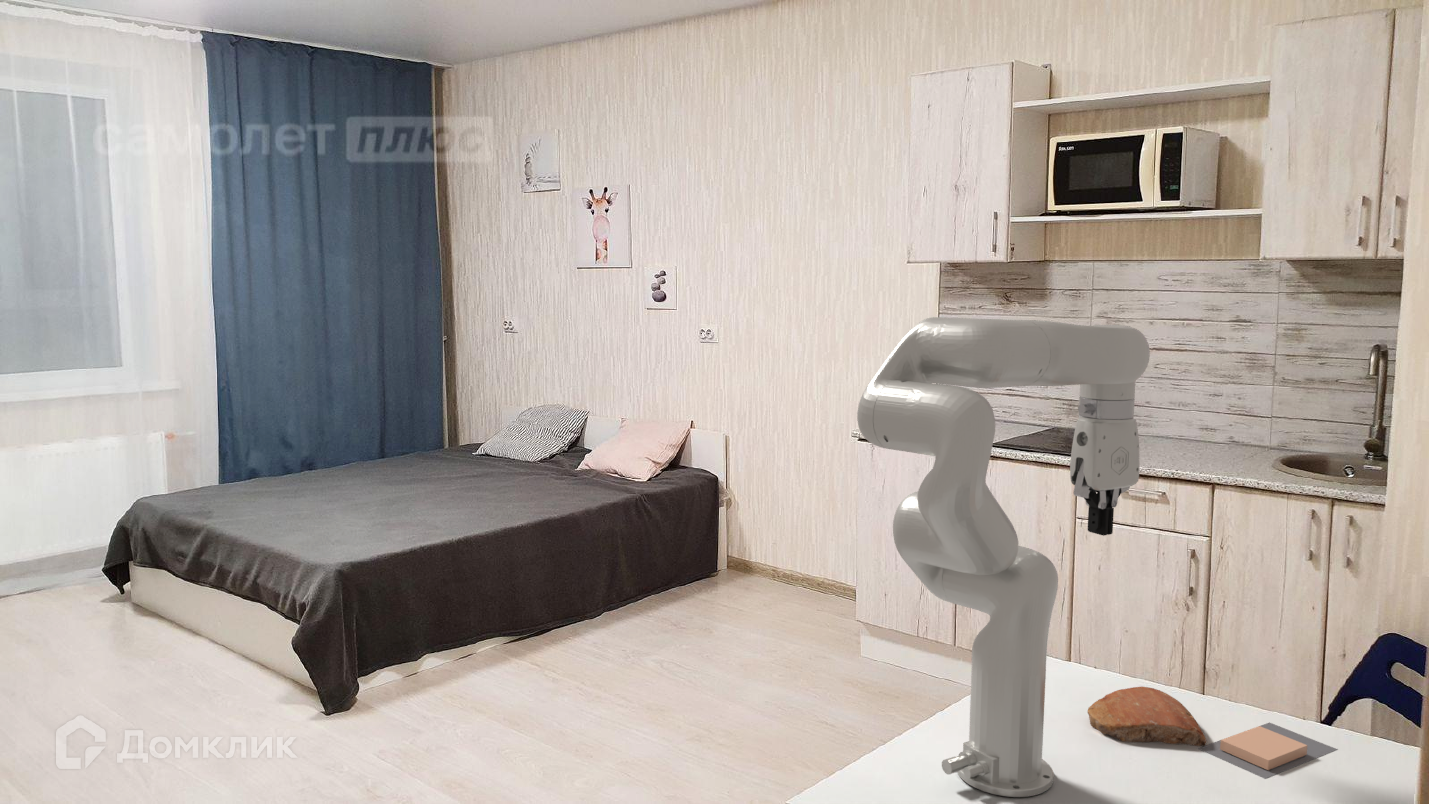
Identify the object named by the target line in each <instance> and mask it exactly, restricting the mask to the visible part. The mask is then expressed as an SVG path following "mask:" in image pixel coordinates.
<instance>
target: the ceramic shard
mask: <svg viewBox="0 0 1429 804" xmlns="http://www.w3.org/2000/svg"><path fill="white" fill-rule="evenodd" d="M1087 714H1088V720H1089V724H1090V726H1091V727H1092V728H1094V729H1095V730H1097V731H1098V732H1100V733H1101V734H1103V735H1109V736H1111V737H1112V738H1115V739H1116V740H1117V741H1121V742H1123V743H1126V742H1127V743H1157V742H1160V743H1165V744H1169V745H1170V744H1173V745H1174V744H1175V745H1190V746H1195V747H1196V746H1197V747H1203V746H1206V745H1207V737H1206V736H1205V735H1204V734H1205V733H1204V732H1203V730H1202V729H1201V727H1200V725H1199V723H1198V722H1197V720H1196V719H1195V718H1194V716H1193V714H1191V712H1190V711H1189V710H1188V709H1187V708H1186V707H1185V706H1184V705H1183V703H1181V702H1180V701H1179V700H1178V699H1177V698H1175V697H1173V696H1171V695H1170V694H1168V693H1167V692H1165V691H1162V690H1160V689H1157V688H1153V687H1147V686H1134V687H1127V688H1122V689H1117V690H1114V691H1113V692H1110V693H1107V694H1105V695H1104V696H1103V697H1102V698H1099V699H1097V700H1096V701H1095V702H1093V703H1092V704H1091V705H1090V706H1089V707H1088V709H1087Z"/></svg>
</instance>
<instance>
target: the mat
mask: <svg viewBox="0 0 1429 804" xmlns="http://www.w3.org/2000/svg"><path fill="white" fill-rule="evenodd" d="M1260 726H1261V727H1263V728H1266V729H1268V730H1271V731H1273V732H1276V733H1278V734H1281V735H1283V736H1286V737H1288V738H1290V739H1293V740H1295V741H1298V742H1300V743H1303V744H1305V745H1307V755H1305V756H1302V757H1300V758H1297V759H1295V760H1292V761H1290V762H1287V763H1285V764H1282V765H1280V766H1277V767H1275V768H1272V769H1270V770H1266V769H1264V768H1262V767H1259V766H1257V765H1255V764H1252V763H1250V762H1248V761H1246V760H1243V759H1241V758H1239V757H1236V756H1234V755H1232V754H1230V753H1227V752H1225V751H1223V750H1220V744H1221V740H1222V739H1220V740H1216V741H1215V742H1211V743H1209V744H1206V745H1205V746H1199V747H1197V749H1198V750H1200V751H1202V752H1204V753H1206V754H1207V755H1208V754H1209V755H1211V756H1213V757H1215V758H1218V759H1220V760H1222V761H1225V762H1226V763H1229V764H1231V765H1234V766H1236V767H1238V768H1240V769H1242V770H1245V771H1247V772H1249V773H1251V774H1254V775H1256V776H1258V777H1261V778H1262V779H1264V780H1266V779H1269V778H1272V777H1273V776H1276V775H1278V774H1281V773H1283V772H1286V771H1289V770H1291V769H1294V768H1297V767H1298V766H1300V765H1303V764H1306V763H1307V762H1308V763H1309V762H1311V761H1313V760H1316V759H1319V758H1320V757H1322V756H1323V757H1324V756H1326V755H1328V754H1331V753H1332V752H1335V751H1338V750H1339V749H1338V748H1335V747H1333V746H1330V745H1327V744H1325V743H1323V742H1320V741H1318V740H1316V739H1313V738H1310V737H1307V736H1305V735H1302V734H1300V733H1297V732H1295V731H1292V730H1289V729H1287V728H1285V727H1282V726H1279V725H1277V724H1274V723H1272V722H1266V723H1265V724H1262V725H1260Z"/></svg>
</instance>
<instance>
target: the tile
mask: <svg viewBox="0 0 1429 804" xmlns="http://www.w3.org/2000/svg"><path fill="white" fill-rule="evenodd" d="M1220 740H1221V744H1220V750H1223V751H1225V752H1227V753H1230V754H1232V755H1234V756H1236V757H1239V758H1241V759H1243V760H1246V761H1248V762H1250V763H1252V764H1255V765H1257V766H1259V767H1262V768H1264V769H1266V770H1270V769H1272V768H1275V767H1277V766H1280V765H1282V764H1285V763H1287V762H1290V761H1292V760H1295V759H1297V758H1300V757H1302V756H1305V755H1307V745H1305V744H1303V743H1300V742H1298V741H1295V740H1293V739H1290V738H1288V737H1286V736H1283V735H1281V734H1278V733H1276V732H1273V731H1271V730H1268V729H1266V728H1263V727H1261V725H1259V726H1258V725H1257V726H1256V727H1253V728H1250V729H1247V730H1244V731H1242V732H1238V733H1236V734H1233V735H1231V736H1228V737H1226V738H1222V739H1220Z"/></svg>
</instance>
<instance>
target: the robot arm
mask: <svg viewBox="0 0 1429 804" xmlns="http://www.w3.org/2000/svg"><path fill="white" fill-rule="evenodd" d="M1150 350H1151V349H1150V345H1149V342H1148V340H1147V338H1146V336H1145V335H1144V333H1143V332H1142V331H1140V330H1139V329H1137V328H1135V327H1132V326H1129V325H1123V324H1122V325H1121V324H1094V325H1091V324H1090V325H1084V324H1083V325H1081V324H1074V323H1073V324H1072V323H1066V322H1058V321H1050V320H1049V321H1047V320H1038V319H1037V320H1033V319H1003V318H1002V319H1000V318H999V319H998V318H997V319H996V318H994V319H993V318H968V317H965V318H964V317H935V316H933V317H927V318H924V319H923V320H921V321H919V322H918V323H917V324H915V325H914V326H913V327H911V328H910V329H909V331H908V332H906V334H904V336H903V337H902V338H901V339H900V340H899V342H898V343H897V345H895V346H894V348H893V349H892V350H891V352H890V353H889V355H888V356H887V357H886V359H885V360H884V362H883V364H882V365H881V366H880V367H879V369H878V370H877V371H876V373H875V374H874V375H873V377H872V378H871V379H870V381H869V383H868V384H867V385H866V387H865V389H864V391H863V393H862V394H861V397H860V399H859V402H858V407H857V412H856V414H857V416H856V417H857V419H856V420H857V427H858V428H859V429H858V430H859V431H860V433H861V435H862V436H863V437H864V439H865V440H867V441H868V442H869V443H870V444H872V445H874V446H876V447H879V448H881V449H887V450H891V451H892V450H893V451H900V452H906V453H913V454H919V455H925V456H931V457H935V458H934V459H935V460H934V462H933V467H932V469H931V470H930V471H929V472H928V473H927V474H926V476H925V477H924V479H922V481H921V483H920V485H919V488H918V491H915V492H912V493H910V494H909V495H907V496H906V497H904V499H902V500H901V502H900V503H899V504H898V506H897V508H896V510H895V513H894V516H893V520H892V521H893V522H892V535H893V536H892V537H893V541H894V545H895V548H896V550H897V552H898V554H899V555H900V557H901V558H902V560H903V561H904V563H906V565H907V566H908V567H909V569H910V570H911V571H912V572H913V574H914V575H915V576H916V577H917V578H918V579H919V581H920V582H921V583H922V584H923V585H924V586H925V588H926V589H927V590H928V591H929V592H930V593H932V594H933V595H934V596H935V597H937V598H938V599H940V600H943V601H945V602H948V603H951V604H954V605H958V606H960V607H964V608H968V609H972V610H976V611H979V612H981V613H985V614H987V615H989V621H988V623H987V624H986V625H985V626H984V627H983V628H982V629H981V630H980V631H979V632H978V634H977V635H976V636H975V638H974V640H973V643H972V648H971V675H970V700H969V703H970V704H969V707H970V708H969V730H968V731H969V732H968V734H969V735H968V741H965V742H963V746H962V747H963V748H962V751H960V752H959V754H958V755H956V756H952V757H949V758H946V759H943V760H942V761H941V769H942V771H943V772H944V774H945V775H952V774H956V773H957V774H958V776H959V777H960V778H961V780H963V781H964V782H965V783H967V785H970V786H971V787H973V788H975V789H977V790H979V791H982V792H984V793H988V794H991V795H996V796H1000V797H1001V796H1002V797H1010V798H1026V797H1032V796H1037V795H1041V794H1043V793H1045V792H1046V791H1048V790H1049V789H1051V787H1052V786H1053V783H1054V771H1053V768H1052V767H1051V765H1050V764H1049V763H1048V762H1047V761H1045V760H1044V759H1043V745H1044V742H1043V741H1044V724H1045V723H1044V722H1045V721H1044V719H1045V702H1046V701H1045V698H1046V680H1047V676H1046V675H1047V655H1048V639H1049V629H1050V624H1051V620H1052V619H1051V618H1052V615H1053V609H1054V606H1055V601H1056V597H1057V594H1058V588H1059V574H1058V571H1057V569H1056V568H1057V567H1056V566H1055V564H1054V563H1053V562H1052V560H1051V559H1050V558H1049V557H1047V556H1045V554H1043V553H1042V552H1039V551H1037V550H1034V549H1032V548H1029V547H1025V546H1022V545H1019V536H1018V534H1017V532H1016V530H1015V526H1014V525H1013V523H1012V521H1011V519H1010V518H1009V517H1008V515H1007V514H1006V512H1005V510H1004V509H1003V508H1002V507H1001V505H1000V504H999V502H998V501H997V499H996V498H995V496H994V495H993V493H992V491H990V490H991V489H990V487H988V485H987V483H986V479H987V472H988V467H989V463H990V458H991V454H992V450H993V449H992V448H993V445H994V440H995V434H996V418H995V414H994V413H995V412H994V410H993V407H992V405H991V404H990V402H989V401H988V399H987V398H986V397H985V396H984V395H982V394H980V393H978V392H977V391H975V390H973V389H969V388H977V389H978V388H979V389H995V388H996V389H997V388H1011V387H1012V388H1013V387H1035V386H1036V387H1037V386H1040V387H1041V386H1043V387H1062V386H1063V387H1064V386H1077V385H1078V386H1079V397H1078V398H1079V401H1078V407H1077V410H1078V411H1077V412H1078V419H1076V423H1075V424H1076V425H1075V427H1074V432H1073V438H1072V445H1071V452H1070V453H1071V455H1070V465H1069V468H1070V469H1069V471H1070V473H1069V475H1070V476H1069V477H1070V482H1071V484H1072V485H1073V486H1074V488H1073V489H1074V490H1073V495H1074V496H1075V497H1079V498H1083V499H1084V501H1085V505H1086V506H1087V507H1088V511H1087V531H1088V533H1092V534H1096V535H1100V536H1103V537H1104V536H1110V535H1112V534H1113V532H1114V531H1113V529H1114V511H1115V509H1114V508H1116V507H1117V506H1118V501H1119V497H1120V496H1121V494H1124V493H1126V492H1127V491H1129V489H1130V487H1133V486H1135V485H1136V484H1137V483H1138V482H1139V478H1140V439H1139V438H1140V436H1139V435H1140V434H1139V429H1138V423H1137V419H1135V418H1134V417H1135V397H1136V395H1135V394H1136V381H1137V380H1138V379H1140V378H1141V376H1143V374H1144V373H1145V372H1146V370H1147V367H1148V366H1149V363H1150V356H1151V355H1150V354H1151V351H1150ZM966 387H968V388H966Z"/></svg>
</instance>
